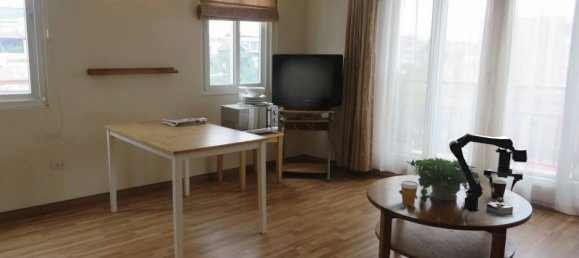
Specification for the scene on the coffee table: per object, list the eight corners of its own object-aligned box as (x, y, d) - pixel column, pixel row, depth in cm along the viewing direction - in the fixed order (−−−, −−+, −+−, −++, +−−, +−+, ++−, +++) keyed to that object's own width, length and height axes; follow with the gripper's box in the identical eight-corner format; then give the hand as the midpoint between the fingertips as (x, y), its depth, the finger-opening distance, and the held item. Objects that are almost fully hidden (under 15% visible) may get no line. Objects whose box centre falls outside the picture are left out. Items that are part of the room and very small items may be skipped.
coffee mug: (506, 200, 272) (508, 184, 271) (490, 199, 274) (492, 182, 272) (502, 195, 283) (503, 178, 282) (486, 193, 285) (488, 177, 283)
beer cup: (418, 202, 265) (419, 182, 263) (415, 207, 257) (416, 186, 255) (401, 200, 269) (402, 179, 267) (397, 204, 261) (399, 183, 259)
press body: (498, 215, 247) (499, 208, 246) (482, 208, 258) (483, 201, 257) (512, 214, 250) (513, 207, 249) (496, 207, 261) (496, 200, 260)
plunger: (499, 212, 250) (500, 199, 249) (495, 210, 253) (496, 197, 252) (503, 212, 251) (504, 199, 250) (499, 210, 254) (500, 197, 253)
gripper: (483, 162, 245) (481, 191, 247) (524, 166, 237) (520, 196, 239) (485, 157, 255) (483, 185, 257) (524, 162, 246) (521, 190, 249)
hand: (501, 189), depth 250 cm, fingers open, 9 cm apart
